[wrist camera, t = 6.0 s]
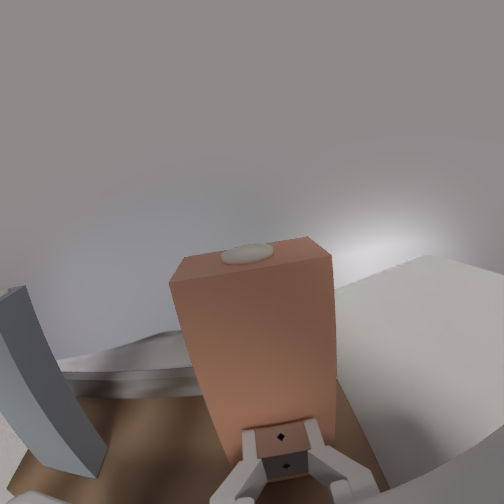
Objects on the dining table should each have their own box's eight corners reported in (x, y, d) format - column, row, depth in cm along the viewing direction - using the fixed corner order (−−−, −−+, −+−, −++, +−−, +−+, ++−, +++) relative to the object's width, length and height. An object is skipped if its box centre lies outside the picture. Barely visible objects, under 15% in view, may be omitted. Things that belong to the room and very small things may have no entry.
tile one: (239, 485, 11) (167, 276, 8) (238, 447, 14) (183, 252, 11) (332, 469, 12) (331, 249, 9) (320, 433, 14) (307, 231, 11)
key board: (19, 500, 8) (-12, 471, 7) (83, 384, 24) (69, 357, 23) (390, 511, 9) (405, 486, 8) (321, 360, 24) (319, 328, 23)
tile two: (42, 465, 11) (-52, 308, 8) (56, 439, 14) (-22, 290, 11) (96, 478, 11) (-11, 303, 8) (108, 447, 14) (24, 281, 11)
